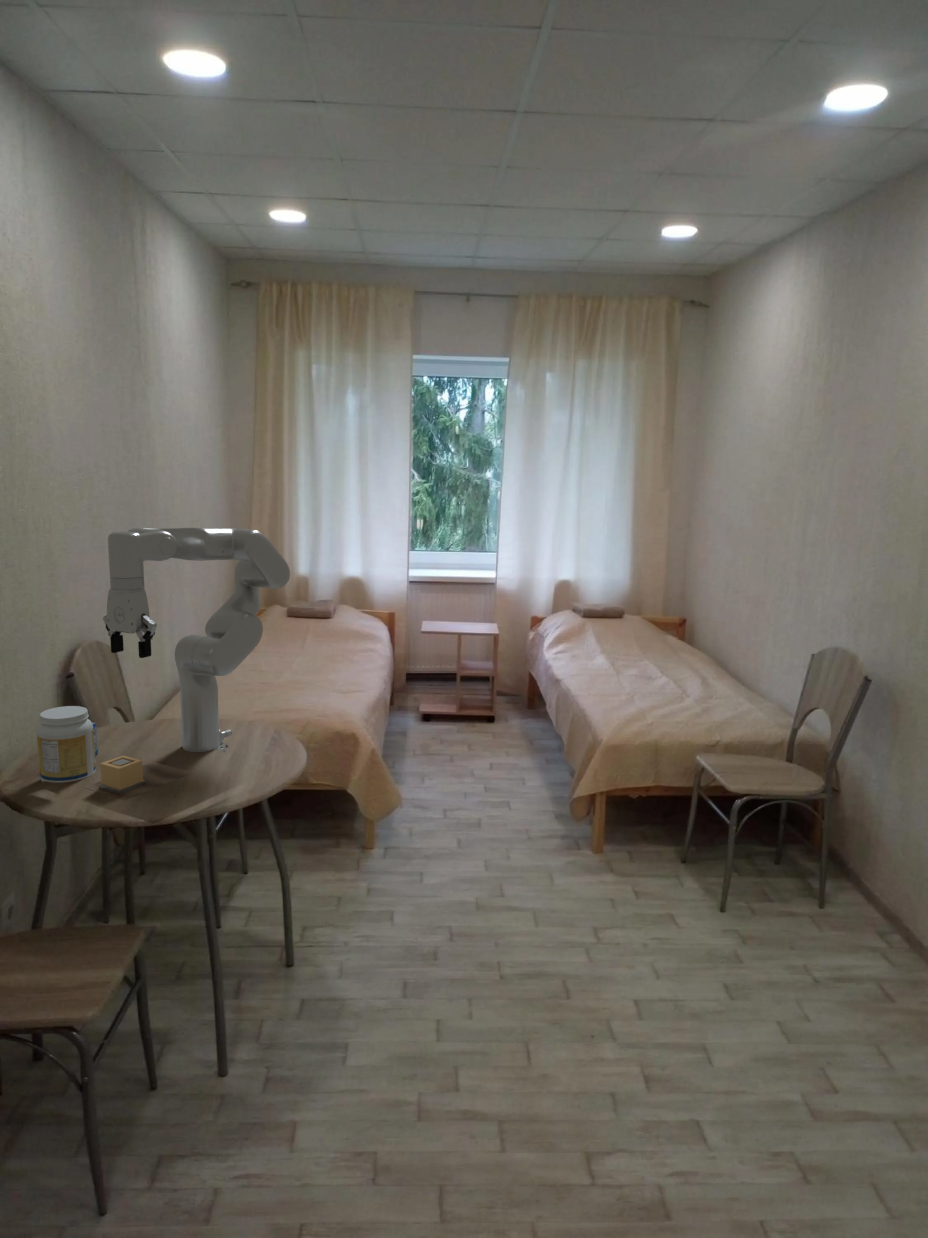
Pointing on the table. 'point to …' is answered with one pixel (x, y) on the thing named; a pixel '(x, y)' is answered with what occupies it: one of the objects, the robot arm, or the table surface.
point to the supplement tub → (65, 744)
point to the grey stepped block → (124, 790)
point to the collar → (121, 773)
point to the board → (148, 780)
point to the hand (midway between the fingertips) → (131, 654)
